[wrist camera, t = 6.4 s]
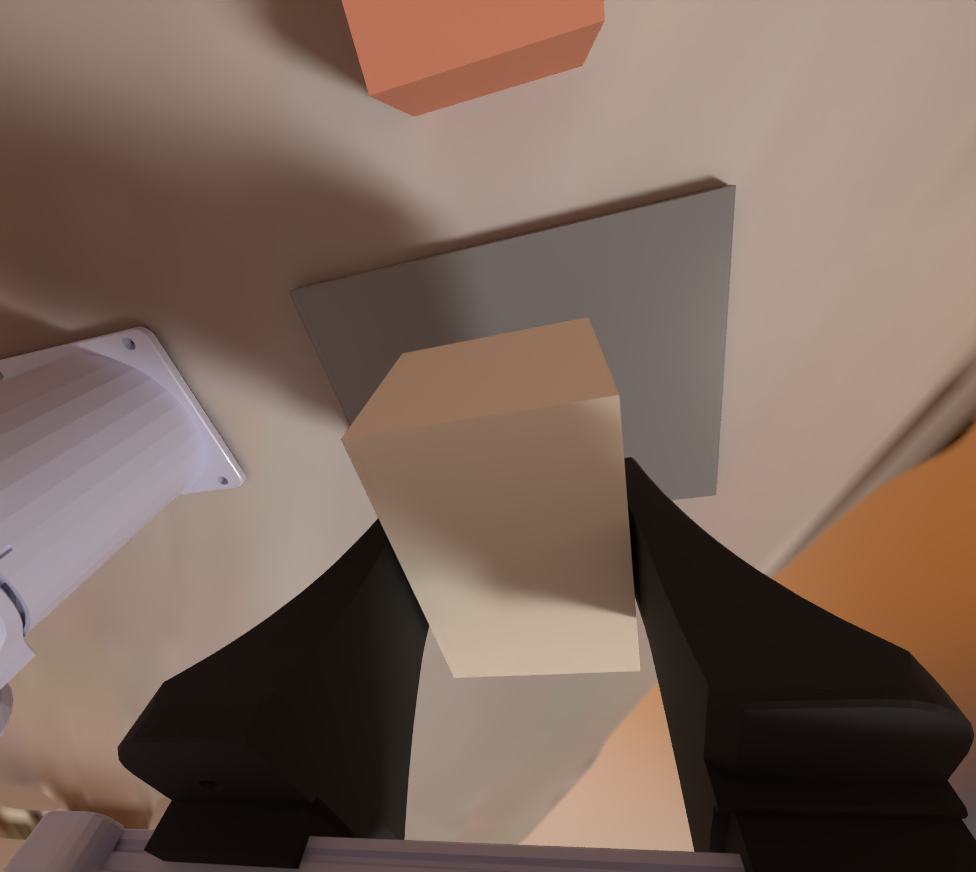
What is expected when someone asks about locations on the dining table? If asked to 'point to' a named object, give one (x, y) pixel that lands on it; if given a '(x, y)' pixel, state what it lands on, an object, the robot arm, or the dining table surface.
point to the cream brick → (507, 499)
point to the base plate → (565, 318)
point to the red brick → (466, 46)
